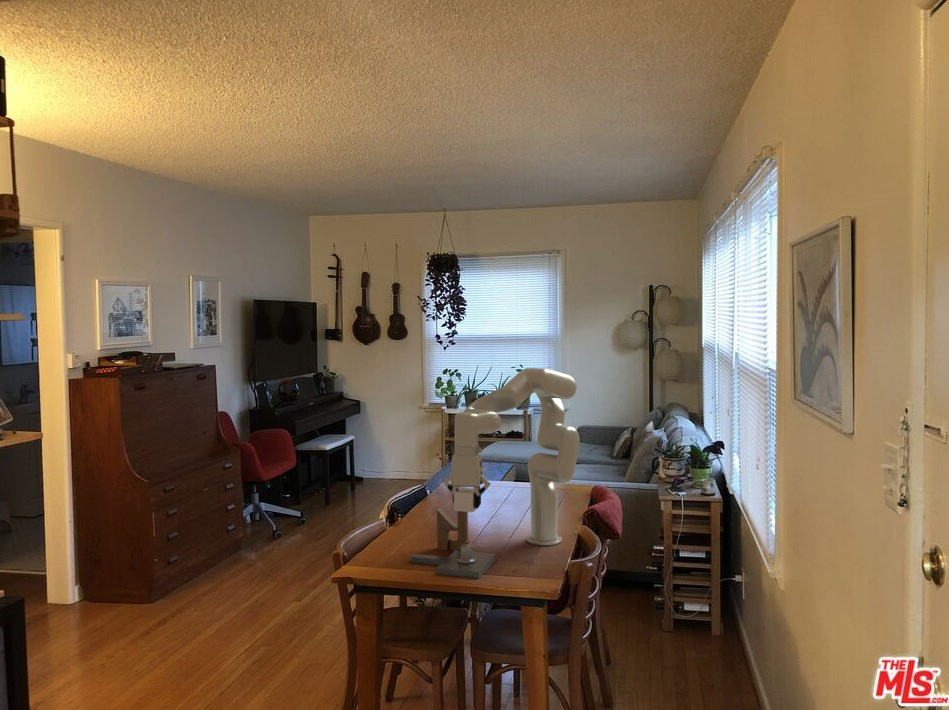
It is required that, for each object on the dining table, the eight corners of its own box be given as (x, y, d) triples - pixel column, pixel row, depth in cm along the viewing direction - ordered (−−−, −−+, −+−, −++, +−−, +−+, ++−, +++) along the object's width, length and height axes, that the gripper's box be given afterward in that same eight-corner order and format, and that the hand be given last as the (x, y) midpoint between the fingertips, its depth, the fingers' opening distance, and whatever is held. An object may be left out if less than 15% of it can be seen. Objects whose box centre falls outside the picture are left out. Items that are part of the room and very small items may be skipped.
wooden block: (440, 547, 241) (439, 496, 241) (469, 549, 239) (469, 498, 238) (437, 550, 238) (436, 498, 237) (467, 552, 235) (466, 500, 235)
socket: (460, 505, 224) (460, 487, 224) (479, 507, 222) (479, 488, 222) (453, 510, 218) (453, 491, 218) (473, 512, 216) (473, 493, 216)
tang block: (422, 552, 235) (422, 533, 235) (495, 559, 227) (495, 539, 227) (401, 570, 218) (401, 549, 218) (479, 578, 210) (478, 556, 210)
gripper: (495, 450, 221) (495, 505, 221) (445, 447, 226) (445, 501, 226) (489, 454, 213) (489, 511, 214) (437, 451, 219) (437, 507, 219)
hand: (466, 506), depth 220 cm, fingers closed on socket, 6 cm apart
